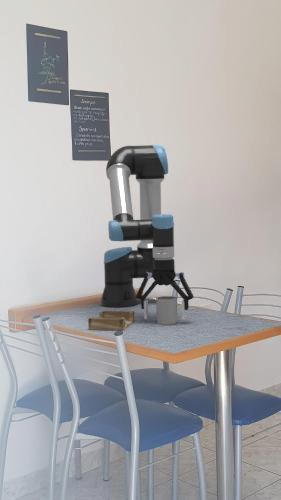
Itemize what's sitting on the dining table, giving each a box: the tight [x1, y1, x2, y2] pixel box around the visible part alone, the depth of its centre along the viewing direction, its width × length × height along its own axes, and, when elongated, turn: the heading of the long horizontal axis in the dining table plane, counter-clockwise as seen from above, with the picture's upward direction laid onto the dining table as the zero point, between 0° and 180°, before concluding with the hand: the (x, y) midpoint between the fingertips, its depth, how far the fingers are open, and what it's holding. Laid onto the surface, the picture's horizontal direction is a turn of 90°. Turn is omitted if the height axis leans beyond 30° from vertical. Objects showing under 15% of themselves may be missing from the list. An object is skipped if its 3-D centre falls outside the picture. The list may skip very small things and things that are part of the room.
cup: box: [155, 295, 178, 326], centre depth 227 cm, size 7×10×9 cm
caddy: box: [87, 310, 135, 331], centre depth 224 cm, size 15×12×4 cm
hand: (165, 318), depth 227 cm, fingers open, 13 cm apart
